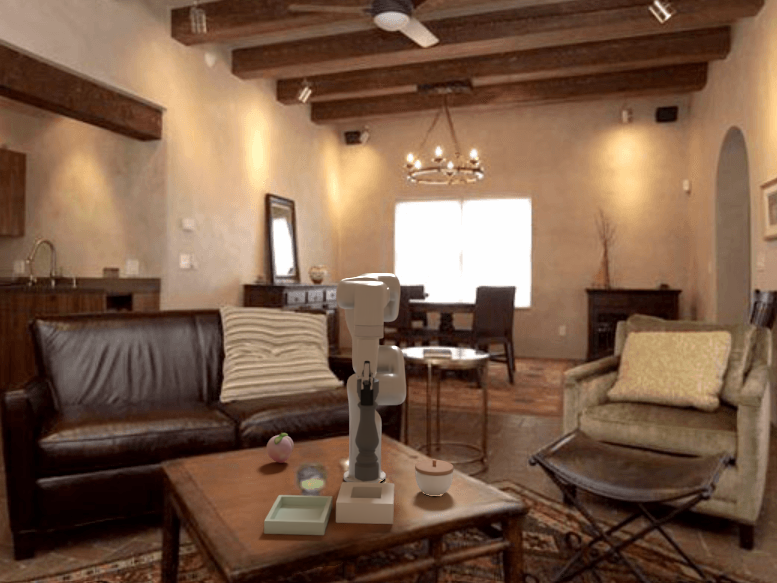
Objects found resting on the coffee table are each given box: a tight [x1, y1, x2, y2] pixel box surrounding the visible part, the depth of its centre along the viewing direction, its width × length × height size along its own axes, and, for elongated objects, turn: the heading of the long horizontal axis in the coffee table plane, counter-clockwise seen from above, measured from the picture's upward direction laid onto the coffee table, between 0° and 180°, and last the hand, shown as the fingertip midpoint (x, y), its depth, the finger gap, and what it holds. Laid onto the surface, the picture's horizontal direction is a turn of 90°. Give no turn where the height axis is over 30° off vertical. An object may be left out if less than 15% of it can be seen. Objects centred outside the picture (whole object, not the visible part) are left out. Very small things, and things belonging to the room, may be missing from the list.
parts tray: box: [263, 494, 333, 536], centre depth 146 cm, size 16×14×3 cm
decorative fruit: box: [266, 432, 295, 464], centre depth 188 cm, size 9×8×10 cm
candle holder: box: [355, 378, 379, 481], centre depth 151 cm, size 6×6×25 cm
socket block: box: [335, 481, 395, 525], centre depth 151 cm, size 14×14×5 cm
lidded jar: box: [414, 458, 454, 495], centre depth 165 cm, size 11×11×9 cm
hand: (367, 401), depth 151 cm, fingers closed on candle holder, 5 cm apart
